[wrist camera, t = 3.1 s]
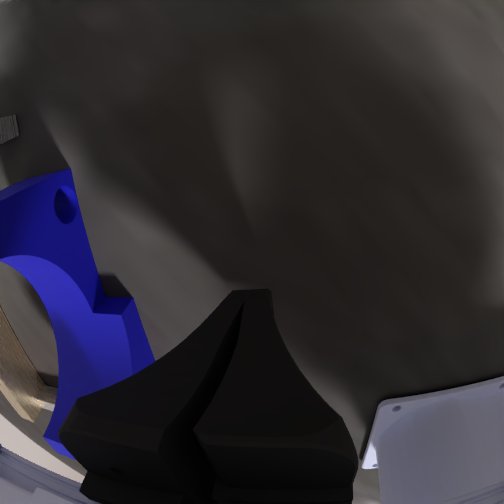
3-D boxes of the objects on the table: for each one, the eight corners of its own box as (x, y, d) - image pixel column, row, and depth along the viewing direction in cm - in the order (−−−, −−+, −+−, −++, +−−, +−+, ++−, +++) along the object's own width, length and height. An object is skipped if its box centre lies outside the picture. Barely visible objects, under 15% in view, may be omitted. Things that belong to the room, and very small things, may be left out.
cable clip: (167, 385, 16) (131, 477, 11) (100, 376, 17) (57, 452, 12) (102, 160, 11) (-14, 217, 6) (27, 178, 12) (-73, 231, 6)
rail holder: (15, 114, 10) (-34, 126, 8) (126, 411, 18) (110, 446, 15) (-59, 161, 12) (-95, 176, 9) (39, 390, 19) (21, 417, 17)
